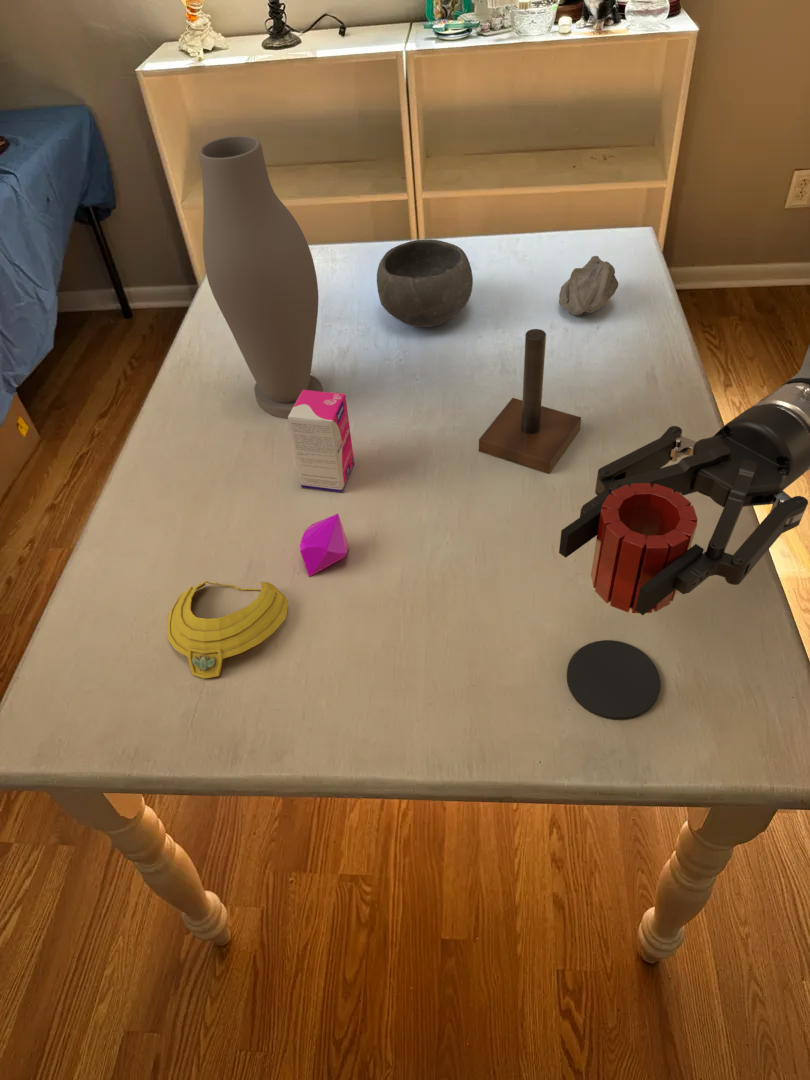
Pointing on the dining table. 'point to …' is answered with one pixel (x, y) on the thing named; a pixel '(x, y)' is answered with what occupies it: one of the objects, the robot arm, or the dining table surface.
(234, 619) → the necklace
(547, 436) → the ring holder
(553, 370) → the dining table surface
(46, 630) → the dining table surface
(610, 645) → the mat
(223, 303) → the vase
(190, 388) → the dining table surface
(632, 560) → the ring
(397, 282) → the bowl
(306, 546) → the crystal
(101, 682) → the dining table surface
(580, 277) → the fossil
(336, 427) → the supplement box
